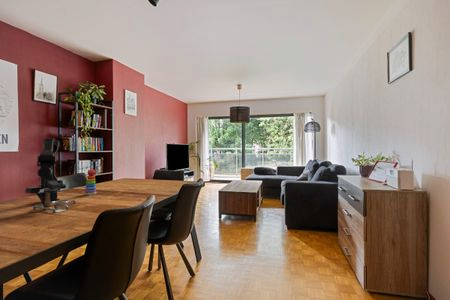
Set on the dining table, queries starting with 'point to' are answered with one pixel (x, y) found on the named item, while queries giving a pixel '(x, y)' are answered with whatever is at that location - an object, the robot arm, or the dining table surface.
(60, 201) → the rail leg
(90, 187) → the stacking toy
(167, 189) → the dining table surface
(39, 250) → the dining table surface
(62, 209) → the sage coaster
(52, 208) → the rails leg
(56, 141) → the robot arm
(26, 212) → the dining table surface
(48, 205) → the walnut peg
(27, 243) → the dining table surface
